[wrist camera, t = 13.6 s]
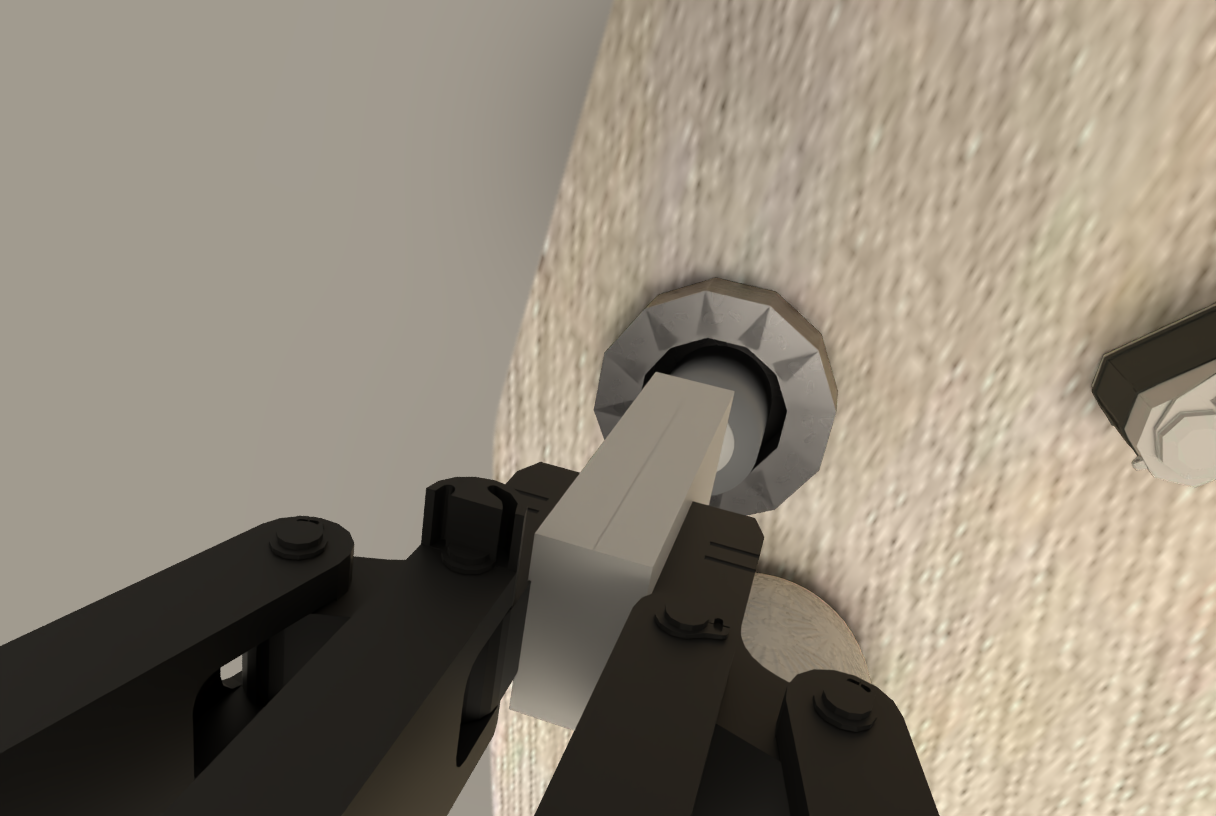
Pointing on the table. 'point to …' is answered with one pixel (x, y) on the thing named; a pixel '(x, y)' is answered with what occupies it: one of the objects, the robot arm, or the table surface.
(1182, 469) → the camera
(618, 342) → the grey ring
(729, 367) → the cap
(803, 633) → the planter
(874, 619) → the table surface
